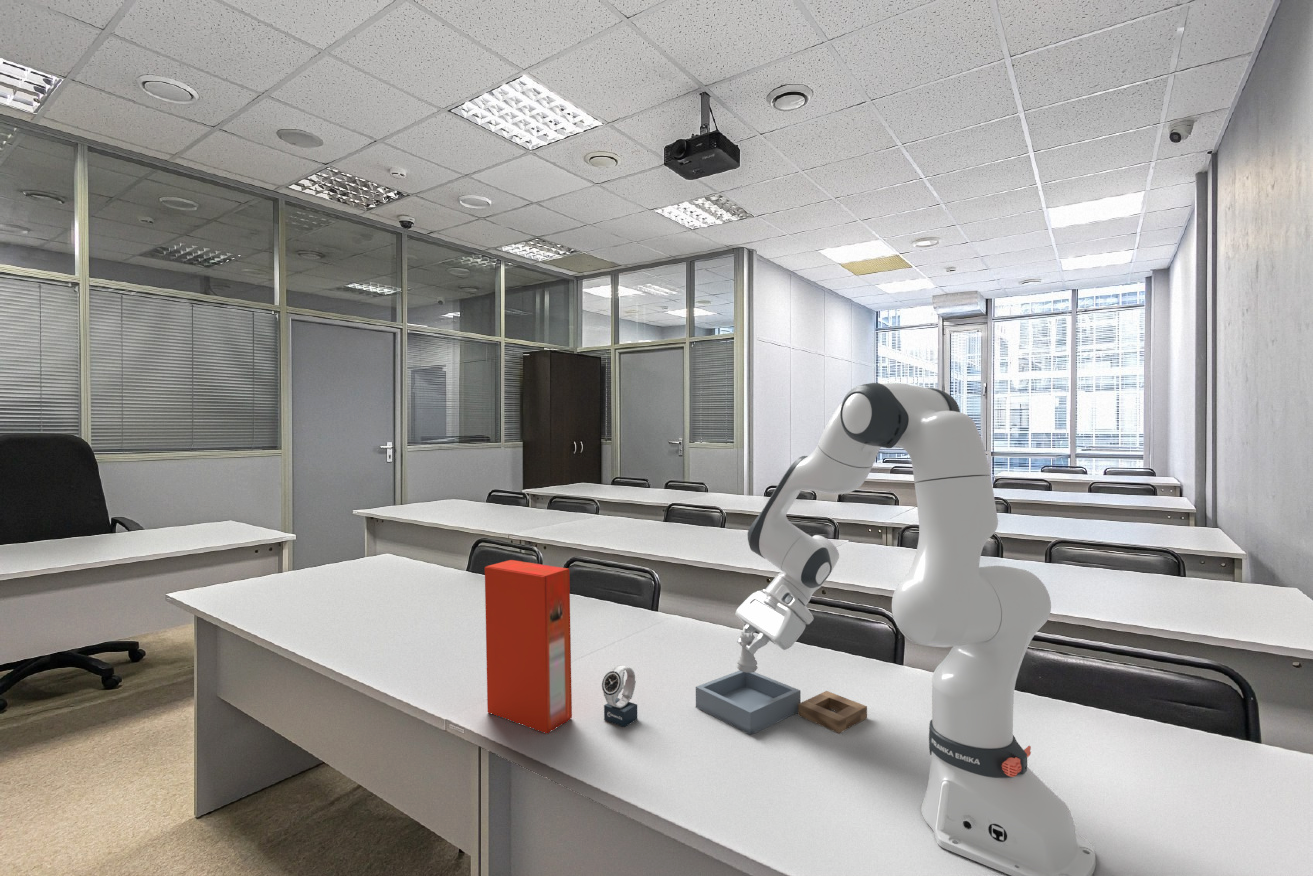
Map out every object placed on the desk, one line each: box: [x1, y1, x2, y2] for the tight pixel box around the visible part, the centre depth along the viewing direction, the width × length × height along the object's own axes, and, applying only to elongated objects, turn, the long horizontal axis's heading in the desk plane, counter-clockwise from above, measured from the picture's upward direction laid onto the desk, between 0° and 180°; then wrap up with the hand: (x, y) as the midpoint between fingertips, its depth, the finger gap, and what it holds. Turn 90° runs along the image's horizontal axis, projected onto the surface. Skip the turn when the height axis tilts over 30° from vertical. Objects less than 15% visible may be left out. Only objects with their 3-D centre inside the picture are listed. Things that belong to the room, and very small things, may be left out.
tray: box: [695, 669, 802, 736], centre depth 131 cm, size 16×16×4 cm
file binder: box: [484, 559, 573, 734], centre depth 129 cm, size 8×17×32 cm, turn 57°
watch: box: [601, 664, 638, 728], centre depth 127 cm, size 6×8×11 cm
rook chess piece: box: [736, 631, 758, 673], centre depth 132 cm, size 4×4×8 cm
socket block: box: [798, 690, 868, 734], centre depth 128 cm, size 10×10×2 cm
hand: (744, 648), depth 131 cm, fingers closed on rook chess piece, 3 cm apart
